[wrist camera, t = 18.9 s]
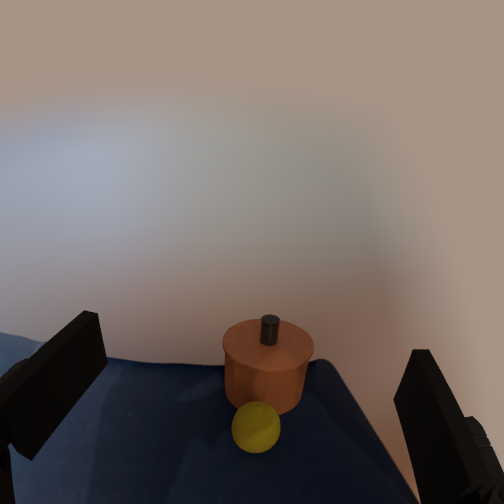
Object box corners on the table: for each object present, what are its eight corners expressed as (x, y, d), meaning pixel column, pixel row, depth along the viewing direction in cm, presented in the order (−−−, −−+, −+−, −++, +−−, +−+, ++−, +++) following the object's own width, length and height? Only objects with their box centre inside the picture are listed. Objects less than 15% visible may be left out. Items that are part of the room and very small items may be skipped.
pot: (291, 364, 50) (297, 321, 48) (310, 411, 40) (321, 366, 37) (222, 368, 48) (222, 323, 46) (228, 419, 38) (229, 372, 35)
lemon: (234, 429, 36) (235, 386, 34) (277, 433, 36) (284, 390, 33) (228, 462, 31) (228, 420, 28) (275, 466, 30) (283, 425, 28)
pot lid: (298, 323, 48) (302, 296, 47) (324, 371, 37) (331, 341, 35) (219, 325, 46) (220, 298, 45) (226, 378, 35) (226, 347, 33)
